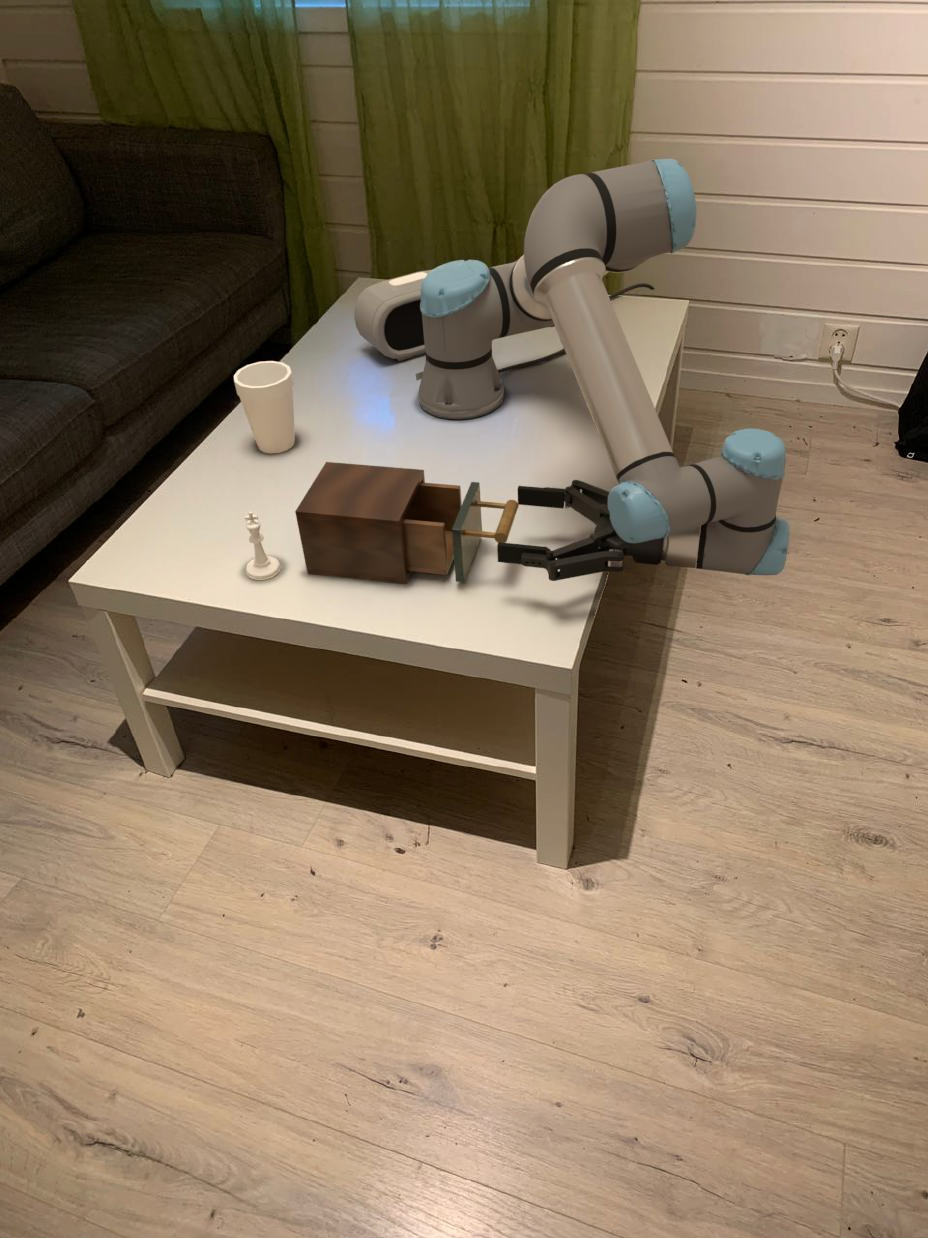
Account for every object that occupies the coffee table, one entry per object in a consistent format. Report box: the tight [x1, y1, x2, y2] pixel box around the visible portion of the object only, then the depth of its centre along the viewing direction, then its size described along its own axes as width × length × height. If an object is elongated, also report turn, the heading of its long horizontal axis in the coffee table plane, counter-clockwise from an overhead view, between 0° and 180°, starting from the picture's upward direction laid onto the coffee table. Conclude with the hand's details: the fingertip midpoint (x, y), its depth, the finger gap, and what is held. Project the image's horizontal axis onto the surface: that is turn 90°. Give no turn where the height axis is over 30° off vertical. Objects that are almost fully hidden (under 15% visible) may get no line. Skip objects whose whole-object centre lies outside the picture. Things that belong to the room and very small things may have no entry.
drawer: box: [402, 481, 520, 583], centre depth 141 cm, size 20×12×9 cm, turn 77°
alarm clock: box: [353, 269, 433, 362], centre depth 193 cm, size 21×10×13 cm, turn 120°
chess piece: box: [244, 511, 281, 581], centre depth 142 cm, size 5×5×10 cm
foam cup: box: [233, 360, 296, 454], centre depth 168 cm, size 10×9×13 cm
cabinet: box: [294, 461, 426, 585], centre depth 143 cm, size 15×13×11 cm
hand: (508, 522), depth 138 cm, fingers open, 13 cm apart
